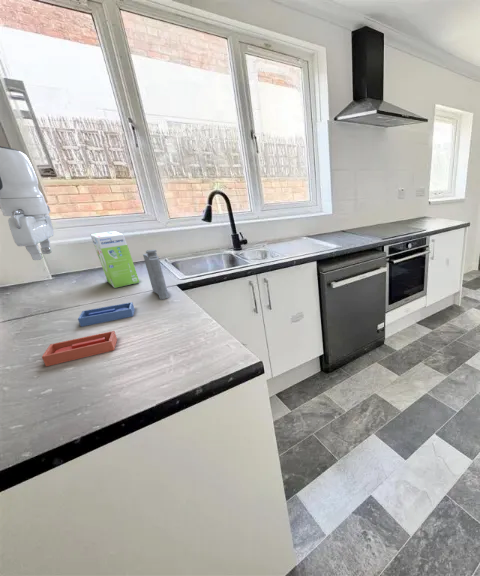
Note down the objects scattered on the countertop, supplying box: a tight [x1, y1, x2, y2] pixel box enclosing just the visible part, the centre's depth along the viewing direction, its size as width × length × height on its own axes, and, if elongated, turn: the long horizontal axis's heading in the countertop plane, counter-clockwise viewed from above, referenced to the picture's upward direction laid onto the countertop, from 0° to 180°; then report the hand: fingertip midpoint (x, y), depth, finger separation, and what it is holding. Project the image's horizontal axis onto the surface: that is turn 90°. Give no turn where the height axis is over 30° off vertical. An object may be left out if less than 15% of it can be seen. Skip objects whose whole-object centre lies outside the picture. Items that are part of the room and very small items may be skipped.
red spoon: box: [54, 338, 106, 353], centre depth 89 cm, size 11×4×3 cm, turn 124°
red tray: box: [41, 330, 118, 367], centre depth 89 cm, size 14×8×4 cm, turn 125°
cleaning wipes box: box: [90, 230, 140, 289], centre depth 148 cm, size 18×10×24 cm, turn 49°
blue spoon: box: [89, 308, 128, 316], centre depth 112 cm, size 11×4×3 cm, turn 124°
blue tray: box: [77, 301, 135, 328], centre depth 111 cm, size 14×8×4 cm, turn 125°
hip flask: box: [142, 249, 170, 300], centre depth 131 cm, size 16×4×20 cm, turn 45°
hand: (43, 256), depth 91 cm, fingers open, 8 cm apart
